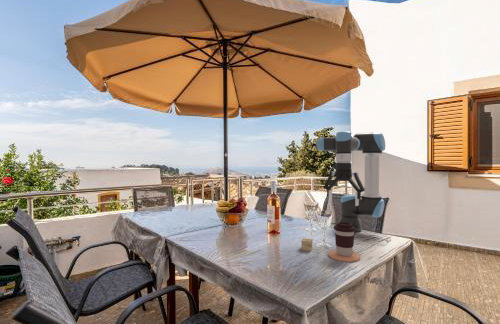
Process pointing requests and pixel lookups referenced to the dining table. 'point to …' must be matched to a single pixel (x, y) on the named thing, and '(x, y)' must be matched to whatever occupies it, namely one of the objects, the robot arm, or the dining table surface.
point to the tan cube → (306, 244)
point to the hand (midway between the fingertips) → (343, 204)
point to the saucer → (352, 258)
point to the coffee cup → (344, 238)
